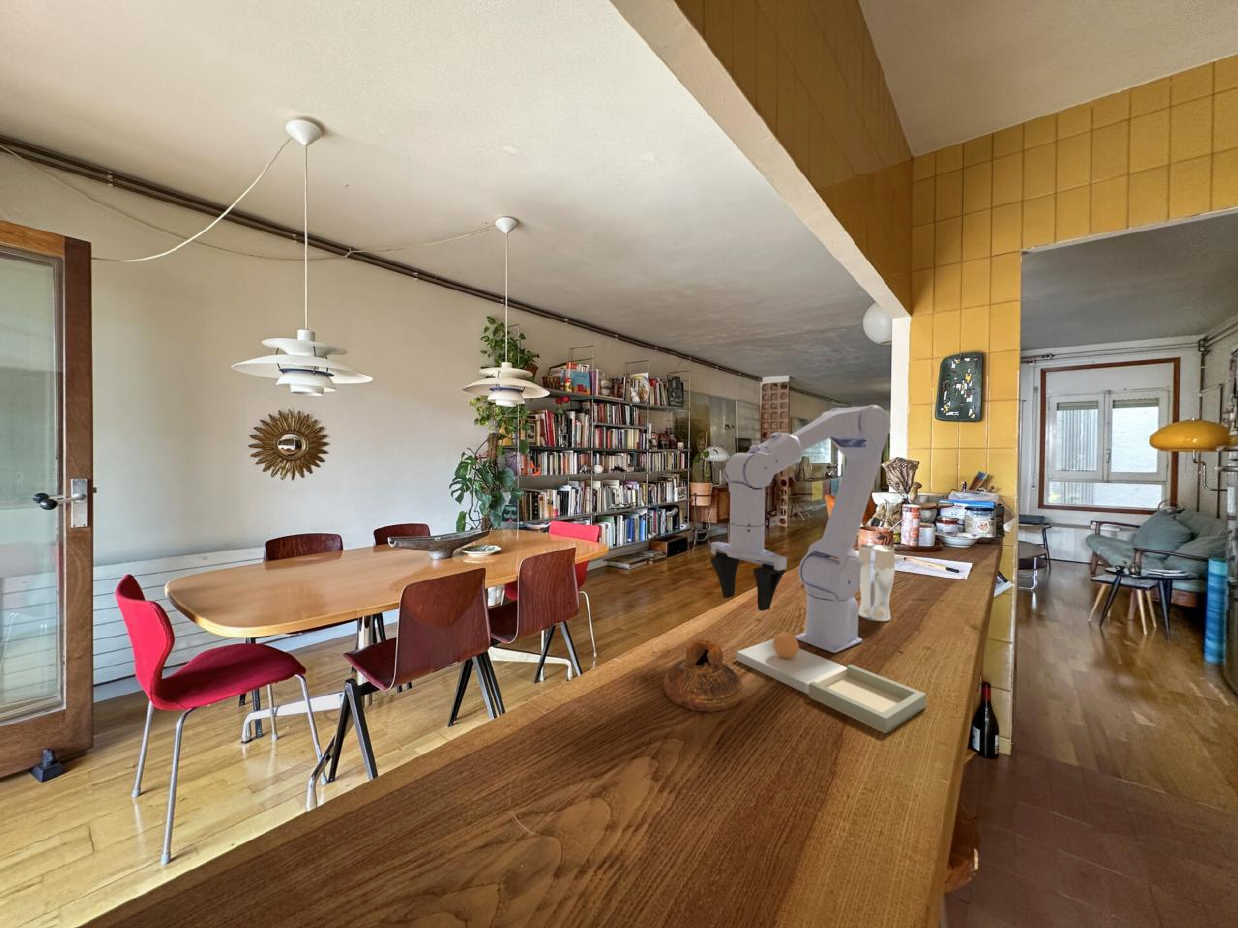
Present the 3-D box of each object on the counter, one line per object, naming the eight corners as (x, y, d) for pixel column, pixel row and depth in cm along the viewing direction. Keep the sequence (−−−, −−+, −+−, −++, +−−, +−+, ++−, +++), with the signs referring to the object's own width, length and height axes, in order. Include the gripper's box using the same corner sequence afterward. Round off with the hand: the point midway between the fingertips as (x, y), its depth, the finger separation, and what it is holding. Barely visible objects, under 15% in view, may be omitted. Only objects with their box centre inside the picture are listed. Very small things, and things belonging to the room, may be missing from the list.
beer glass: (899, 622, 102) (902, 550, 101) (865, 622, 102) (868, 550, 101) (882, 611, 109) (884, 543, 108) (850, 610, 109) (852, 543, 108)
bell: (758, 692, 73) (759, 644, 73) (712, 724, 65) (713, 670, 64) (694, 666, 81) (695, 623, 81) (645, 692, 73) (646, 643, 73)
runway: (774, 646, 89) (774, 638, 89) (848, 677, 78) (848, 668, 78) (736, 660, 83) (736, 651, 83) (810, 695, 72) (811, 685, 72)
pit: (850, 676, 78) (850, 664, 78) (925, 707, 69) (926, 693, 69) (808, 696, 72) (809, 683, 72) (885, 733, 63) (886, 718, 63)
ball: (782, 650, 84) (783, 627, 84) (803, 658, 81) (804, 634, 81) (767, 655, 82) (768, 632, 82) (788, 664, 78) (789, 640, 78)
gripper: (699, 520, 87) (698, 595, 88) (767, 532, 75) (766, 620, 76) (726, 516, 91) (725, 589, 92) (795, 528, 79) (793, 611, 80)
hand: (745, 602), depth 84 cm, fingers open, 7 cm apart
